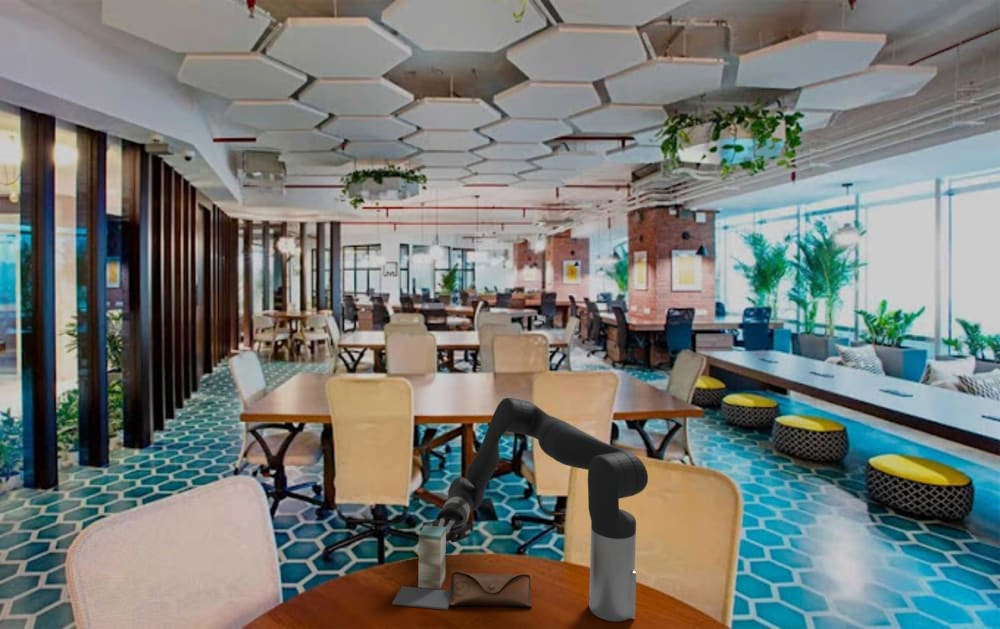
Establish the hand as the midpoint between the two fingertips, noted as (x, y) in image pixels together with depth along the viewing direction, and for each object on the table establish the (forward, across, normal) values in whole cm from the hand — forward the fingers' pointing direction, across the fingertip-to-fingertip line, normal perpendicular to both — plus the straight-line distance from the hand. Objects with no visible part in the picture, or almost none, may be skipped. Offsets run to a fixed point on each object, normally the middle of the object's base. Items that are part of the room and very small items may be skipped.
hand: (437, 544), depth 130 cm
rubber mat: (+12, 0, +6) cm, 13 cm away
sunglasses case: (+9, +14, +6) cm, 18 cm away
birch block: (+5, 0, +6) cm, 8 cm away
